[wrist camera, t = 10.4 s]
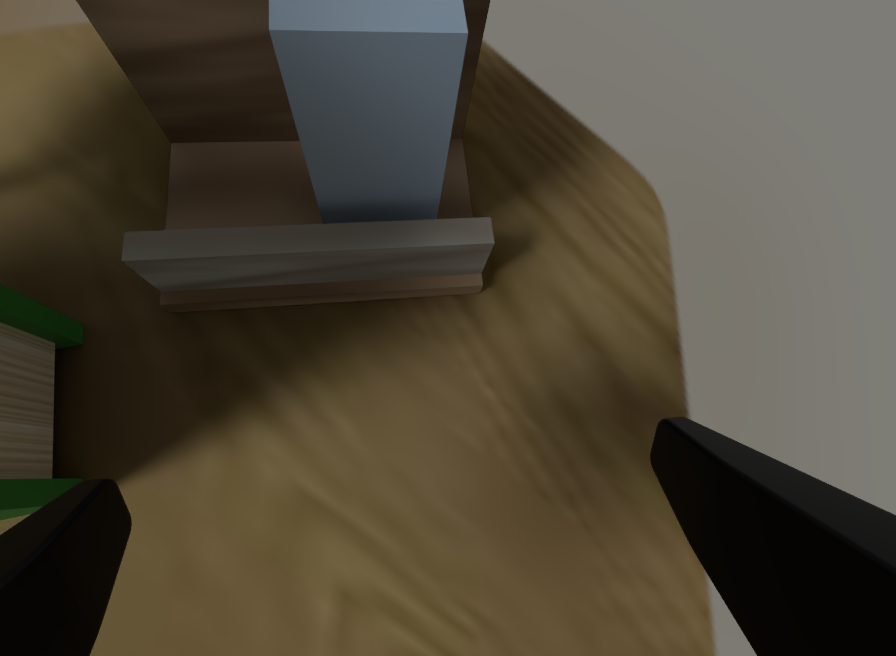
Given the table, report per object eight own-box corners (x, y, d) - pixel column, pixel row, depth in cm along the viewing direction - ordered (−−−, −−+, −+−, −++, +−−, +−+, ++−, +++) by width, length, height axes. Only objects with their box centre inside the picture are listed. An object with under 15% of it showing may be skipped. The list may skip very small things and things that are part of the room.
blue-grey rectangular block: (434, 232, 22) (467, 33, 12) (327, 237, 21) (268, 29, 11) (424, 144, 23) (446, -99, 14) (323, 146, 23) (268, -108, 13)
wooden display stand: (479, 293, 22) (583, 72, 10) (170, 312, 20) (-168, 68, 8) (456, 126, 25) (515, -205, 13) (182, 130, 23) (-54, -257, 11)
